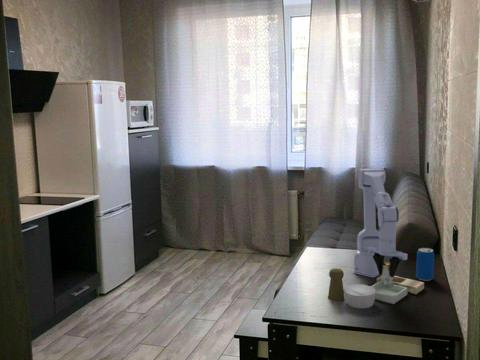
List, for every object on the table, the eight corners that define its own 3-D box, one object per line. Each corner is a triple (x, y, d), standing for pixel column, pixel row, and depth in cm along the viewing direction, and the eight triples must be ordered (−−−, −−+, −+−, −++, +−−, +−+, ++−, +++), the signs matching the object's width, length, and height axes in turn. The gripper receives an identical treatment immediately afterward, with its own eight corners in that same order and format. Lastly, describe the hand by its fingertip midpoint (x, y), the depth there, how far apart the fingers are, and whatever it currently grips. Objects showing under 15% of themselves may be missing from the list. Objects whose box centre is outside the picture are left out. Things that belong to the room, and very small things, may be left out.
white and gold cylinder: (379, 286, 190) (379, 264, 188) (384, 283, 192) (384, 261, 191) (389, 289, 187) (390, 266, 185) (394, 285, 190) (395, 263, 188)
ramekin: (341, 307, 180) (341, 293, 179) (346, 296, 191) (346, 282, 190) (373, 312, 176) (374, 297, 175) (377, 299, 186) (378, 286, 186)
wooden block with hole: (376, 284, 201) (376, 278, 201) (384, 279, 206) (384, 273, 206) (416, 294, 190) (416, 287, 190) (423, 288, 196) (424, 282, 195)
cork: (334, 302, 185) (334, 273, 183) (324, 297, 190) (324, 268, 188) (348, 299, 187) (348, 270, 185) (337, 293, 193) (337, 265, 191)
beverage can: (434, 282, 202) (435, 252, 200) (417, 281, 203) (418, 252, 201) (431, 276, 208) (433, 247, 206) (415, 275, 210) (416, 247, 208)
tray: (365, 296, 189) (365, 289, 189) (379, 287, 198) (379, 281, 197) (393, 304, 182) (393, 297, 182) (407, 294, 190) (407, 287, 190)
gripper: (364, 238, 188) (363, 273, 190) (401, 245, 179) (400, 282, 181) (373, 234, 193) (372, 268, 196) (410, 240, 184) (409, 276, 186)
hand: (386, 275), depth 189 cm, fingers closed on white and gold cylinder, 4 cm apart
